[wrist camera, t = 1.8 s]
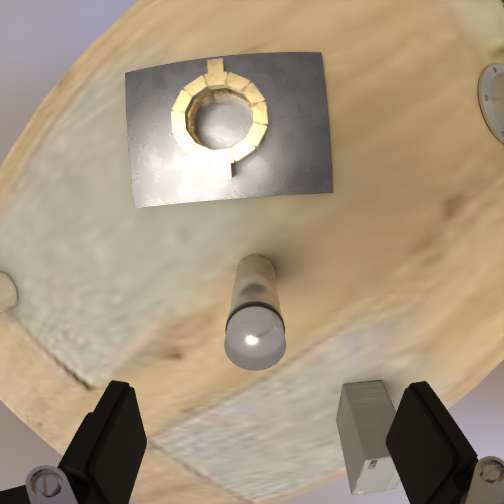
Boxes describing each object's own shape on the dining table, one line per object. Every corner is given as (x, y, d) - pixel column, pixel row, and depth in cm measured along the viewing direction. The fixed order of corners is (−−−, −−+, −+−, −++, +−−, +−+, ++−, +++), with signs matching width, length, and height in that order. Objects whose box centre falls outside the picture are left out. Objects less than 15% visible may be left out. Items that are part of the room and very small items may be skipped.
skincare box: (371, 416, 44) (400, 489, 29) (330, 420, 44) (349, 499, 29) (383, 377, 42) (422, 452, 27) (338, 381, 42) (365, 464, 27)
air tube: (274, 252, 37) (286, 316, 22) (275, 289, 38) (287, 369, 23) (234, 255, 37) (219, 320, 22) (237, 292, 38) (226, 372, 23)
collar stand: (318, 56, 31) (333, 33, 24) (329, 191, 35) (347, 199, 28) (129, 75, 31) (103, 59, 24) (139, 206, 36) (112, 217, 28)
